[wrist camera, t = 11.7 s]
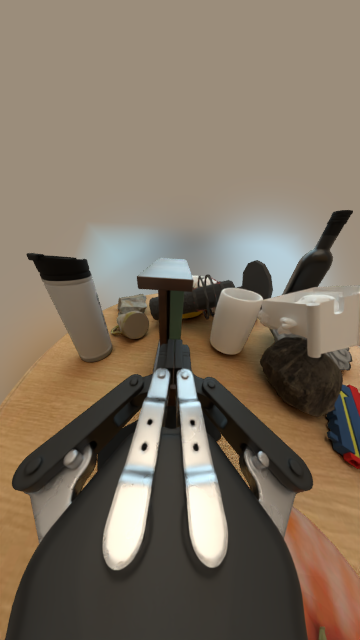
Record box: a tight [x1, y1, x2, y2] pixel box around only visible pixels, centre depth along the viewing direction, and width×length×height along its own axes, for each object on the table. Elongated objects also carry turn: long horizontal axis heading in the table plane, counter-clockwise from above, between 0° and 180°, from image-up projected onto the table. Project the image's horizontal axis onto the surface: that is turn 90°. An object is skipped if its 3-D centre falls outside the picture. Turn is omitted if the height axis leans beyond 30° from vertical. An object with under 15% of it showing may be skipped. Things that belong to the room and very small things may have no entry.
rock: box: [260, 337, 343, 417], centre depth 22 cm, size 10×11×10 cm
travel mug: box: [27, 253, 113, 362], centre depth 24 cm, size 6×7×20 cm
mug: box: [111, 311, 149, 339], centre depth 34 cm, size 8×10×10 cm
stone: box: [118, 294, 147, 315], centre depth 45 cm, size 11×12×5 cm
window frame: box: [137, 258, 194, 406], centre depth 21 cm, size 13×4×20 cm, turn 0°
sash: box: [169, 291, 184, 354], centre depth 22 cm, size 6×2×13 cm, turn 0°
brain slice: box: [269, 328, 352, 370], centre depth 32 cm, size 20×17×3 cm
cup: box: [210, 288, 263, 354], centre depth 29 cm, size 8×8×14 cm
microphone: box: [149, 260, 273, 320], centre depth 36 cm, size 14×13×30 cm
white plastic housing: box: [257, 285, 360, 358], centre depth 22 cm, size 13×12×8 cm
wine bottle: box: [282, 210, 353, 295], centre depth 35 cm, size 6×6×30 cm
